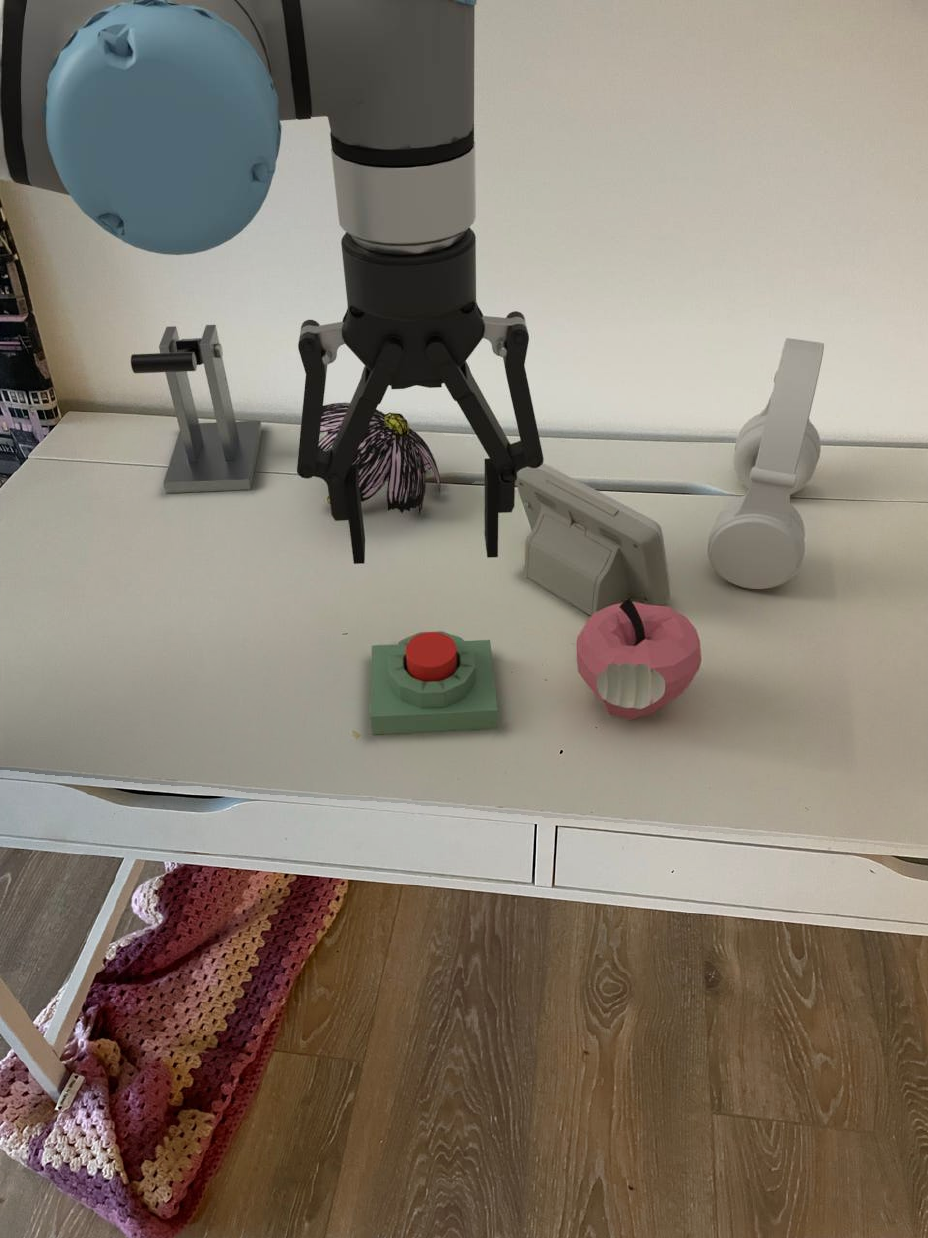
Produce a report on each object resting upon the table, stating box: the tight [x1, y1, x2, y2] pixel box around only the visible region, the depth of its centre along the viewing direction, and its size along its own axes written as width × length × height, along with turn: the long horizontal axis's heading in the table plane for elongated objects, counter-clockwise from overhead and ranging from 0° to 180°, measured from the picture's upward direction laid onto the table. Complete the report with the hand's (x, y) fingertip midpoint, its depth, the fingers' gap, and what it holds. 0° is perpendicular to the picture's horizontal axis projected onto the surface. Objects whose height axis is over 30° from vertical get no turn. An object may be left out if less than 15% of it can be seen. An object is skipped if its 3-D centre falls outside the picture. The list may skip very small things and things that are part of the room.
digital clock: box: [515, 462, 671, 617], centre depth 85 cm, size 16×9×11 cm, turn 33°
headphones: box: [707, 337, 825, 590], centre depth 87 cm, size 20×8×19 cm, turn 160°
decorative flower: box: [318, 402, 442, 517], centre depth 95 cm, size 15×12×15 cm
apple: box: [575, 596, 702, 721], centre depth 73 cm, size 10×9×10 cm
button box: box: [369, 630, 499, 736], centre depth 76 cm, size 10×8×4 cm
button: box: [406, 631, 457, 682], centre depth 75 cm, size 4×4×2 cm
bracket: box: [158, 324, 263, 494], centre depth 99 cm, size 12×9×15 cm
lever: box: [130, 337, 204, 374], centre depth 90 cm, size 13×6×2 cm, turn 3°
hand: (425, 548), depth 67 cm, fingers open, 9 cm apart
